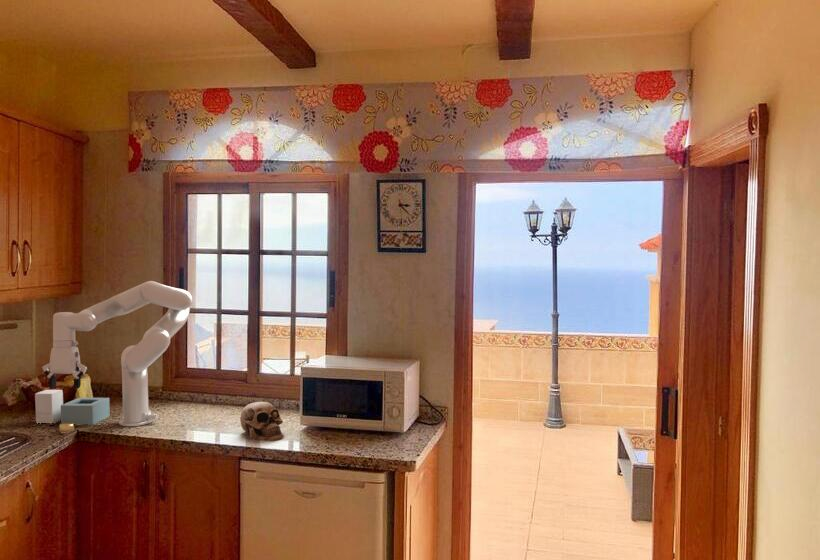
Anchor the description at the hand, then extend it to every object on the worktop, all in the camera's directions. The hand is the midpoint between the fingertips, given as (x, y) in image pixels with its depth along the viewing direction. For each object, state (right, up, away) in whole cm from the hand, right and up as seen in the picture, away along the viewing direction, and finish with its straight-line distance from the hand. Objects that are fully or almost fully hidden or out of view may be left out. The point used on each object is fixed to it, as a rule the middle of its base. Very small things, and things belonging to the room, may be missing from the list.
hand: (64, 388), depth 240 cm
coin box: (0, -16, +16) cm, 23 cm away
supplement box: (-14, -17, +14) cm, 26 cm away
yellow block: (0, -17, +1) cm, 17 cm away
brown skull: (+78, -18, -4) cm, 80 cm away
